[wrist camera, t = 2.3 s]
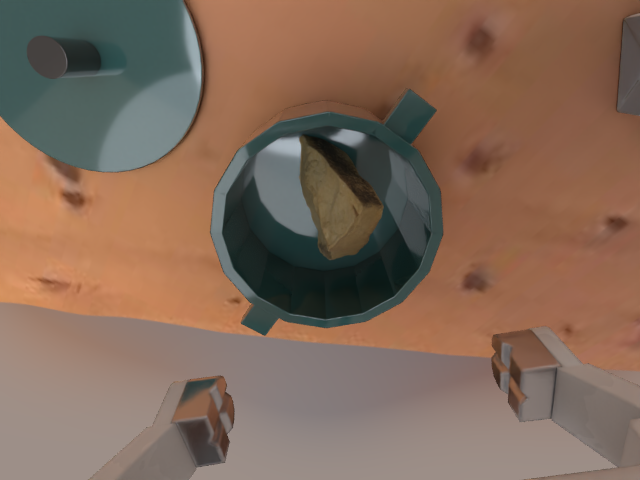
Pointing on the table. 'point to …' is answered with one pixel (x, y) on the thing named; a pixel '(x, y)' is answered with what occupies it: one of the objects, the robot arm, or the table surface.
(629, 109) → the hard drive box
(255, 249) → the pot
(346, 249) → the rock
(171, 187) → the table surface
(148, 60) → the lid
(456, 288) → the table surface
